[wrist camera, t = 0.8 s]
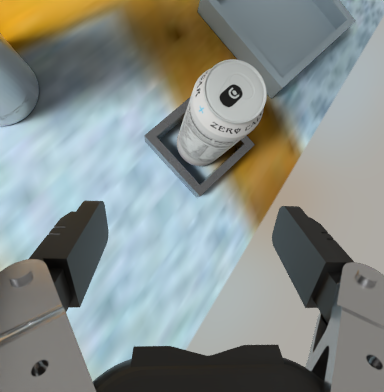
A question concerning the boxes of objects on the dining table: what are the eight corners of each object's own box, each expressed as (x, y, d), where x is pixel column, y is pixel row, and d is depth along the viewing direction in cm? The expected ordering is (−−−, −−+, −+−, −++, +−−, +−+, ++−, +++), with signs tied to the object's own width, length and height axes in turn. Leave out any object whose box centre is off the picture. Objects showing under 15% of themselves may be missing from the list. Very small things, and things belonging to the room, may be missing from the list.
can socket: (145, 141, 31) (144, 135, 28) (199, 95, 32) (203, 85, 30) (196, 197, 31) (199, 196, 29) (247, 149, 33) (254, 144, 31)
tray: (197, 12, 33) (201, -8, 30) (273, -47, 35) (283, -70, 32) (271, 98, 34) (282, 88, 31) (339, 36, 37) (355, 21, 34)
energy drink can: (227, 147, 33) (289, 96, 18) (197, 176, 32) (235, 148, 17) (198, 115, 32) (236, 35, 17) (166, 143, 31) (178, 84, 16)
